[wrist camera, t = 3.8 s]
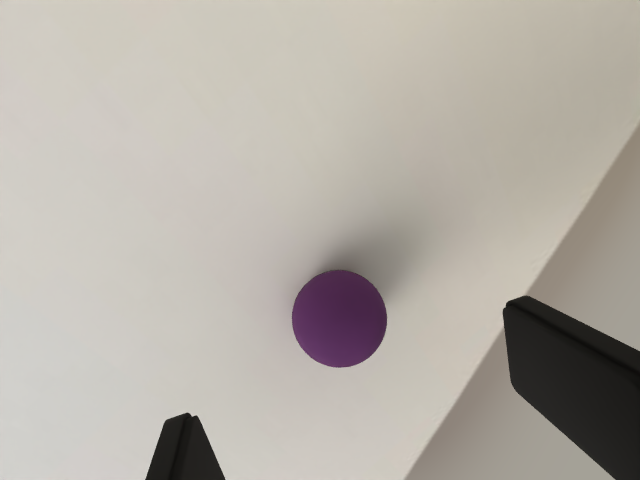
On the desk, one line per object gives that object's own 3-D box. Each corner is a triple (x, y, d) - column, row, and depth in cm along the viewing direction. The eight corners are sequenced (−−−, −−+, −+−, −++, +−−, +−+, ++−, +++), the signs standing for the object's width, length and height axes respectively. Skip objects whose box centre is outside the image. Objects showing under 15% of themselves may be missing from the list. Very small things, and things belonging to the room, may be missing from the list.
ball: (359, 248, 16) (391, 276, 12) (376, 322, 17) (410, 369, 13) (277, 273, 16) (284, 310, 12) (300, 347, 17) (313, 402, 13)
